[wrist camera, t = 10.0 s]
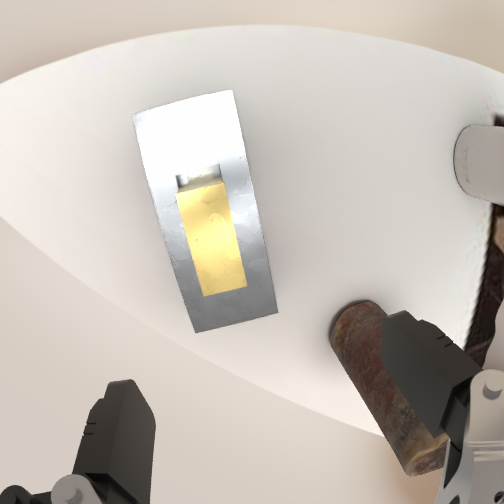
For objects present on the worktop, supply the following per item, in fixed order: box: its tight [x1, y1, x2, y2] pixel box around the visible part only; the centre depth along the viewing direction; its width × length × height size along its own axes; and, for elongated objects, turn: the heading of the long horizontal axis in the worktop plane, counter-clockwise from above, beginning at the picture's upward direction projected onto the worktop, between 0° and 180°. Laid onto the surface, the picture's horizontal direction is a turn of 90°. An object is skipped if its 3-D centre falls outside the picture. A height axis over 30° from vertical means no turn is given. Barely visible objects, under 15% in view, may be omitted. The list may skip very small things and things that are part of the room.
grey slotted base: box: [132, 89, 278, 333], centre depth 27 cm, size 8×20×3 cm, turn 12°
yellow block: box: [176, 173, 247, 296], centre depth 24 cm, size 3×7×8 cm, turn 11°
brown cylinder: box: [330, 301, 449, 476], centre depth 26 cm, size 8×7×20 cm
